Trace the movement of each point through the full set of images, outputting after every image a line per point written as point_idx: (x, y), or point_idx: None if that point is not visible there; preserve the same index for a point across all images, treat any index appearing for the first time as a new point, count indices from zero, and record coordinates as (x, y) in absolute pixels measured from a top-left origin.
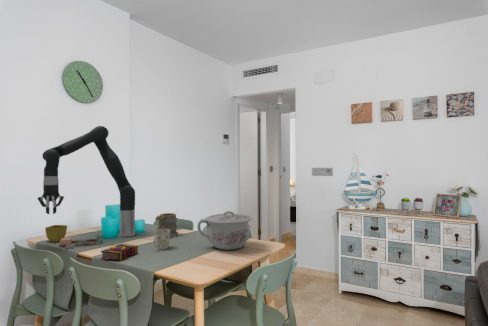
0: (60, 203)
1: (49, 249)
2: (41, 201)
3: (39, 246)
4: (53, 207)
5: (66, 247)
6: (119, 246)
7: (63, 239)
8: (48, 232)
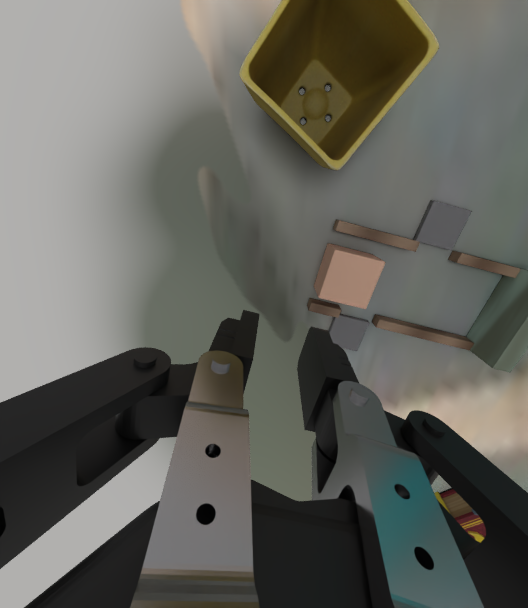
0: (473, 469)
1: (266, 310)
2: (31, 529)
3: (223, 217)
4: (312, 424)
5: (333, 338)
6: (478, 524)
7: (336, 290)
8: (267, 110)
